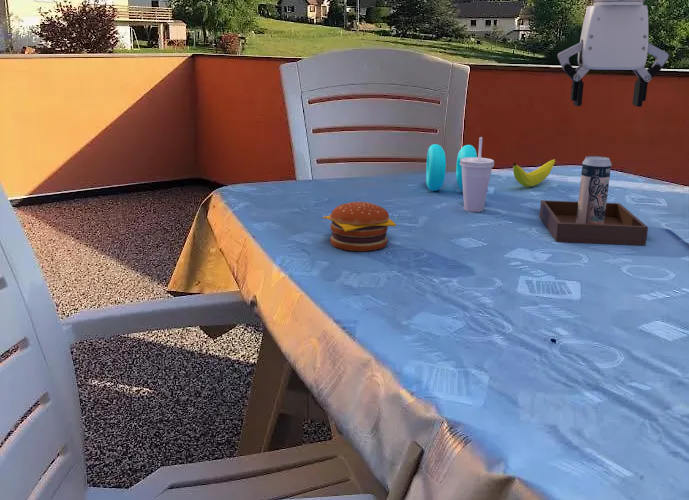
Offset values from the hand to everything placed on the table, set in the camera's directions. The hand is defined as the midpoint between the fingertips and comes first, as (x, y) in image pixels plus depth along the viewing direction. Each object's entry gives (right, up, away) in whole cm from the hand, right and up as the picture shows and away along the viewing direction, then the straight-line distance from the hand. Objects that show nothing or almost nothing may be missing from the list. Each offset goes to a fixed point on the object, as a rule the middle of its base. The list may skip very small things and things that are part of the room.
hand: (607, 105), depth 118 cm
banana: (-1, -10, +42) cm, 43 cm away
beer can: (-1, -20, +6) cm, 21 cm away
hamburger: (-42, -23, -5) cm, 48 cm away
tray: (-1, -21, +6) cm, 21 cm away
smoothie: (-19, -16, +19) cm, 31 cm away
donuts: (-21, -11, +36) cm, 43 cm away
